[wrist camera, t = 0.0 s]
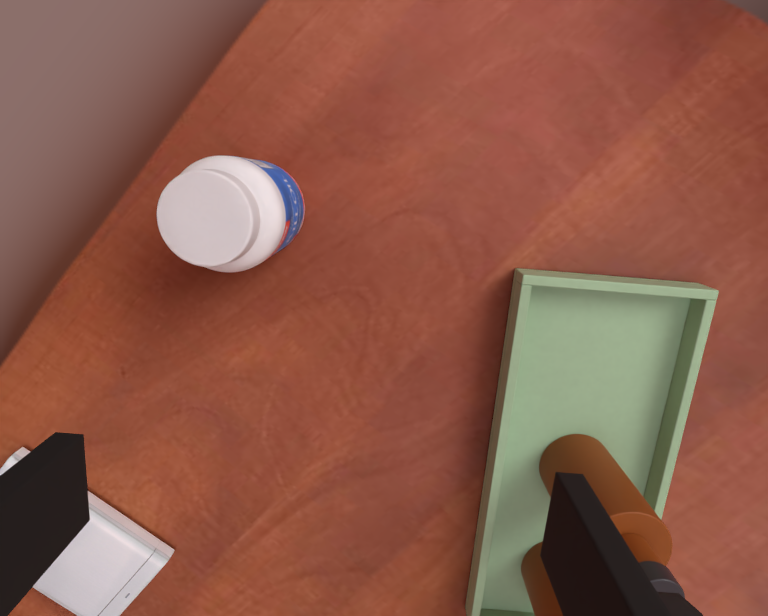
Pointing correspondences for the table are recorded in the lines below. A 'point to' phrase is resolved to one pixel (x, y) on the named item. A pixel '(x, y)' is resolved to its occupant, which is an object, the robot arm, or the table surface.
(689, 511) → the table surface
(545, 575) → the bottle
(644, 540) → the bottle mid
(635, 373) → the tray
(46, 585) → the hard drive
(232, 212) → the pill bottle
